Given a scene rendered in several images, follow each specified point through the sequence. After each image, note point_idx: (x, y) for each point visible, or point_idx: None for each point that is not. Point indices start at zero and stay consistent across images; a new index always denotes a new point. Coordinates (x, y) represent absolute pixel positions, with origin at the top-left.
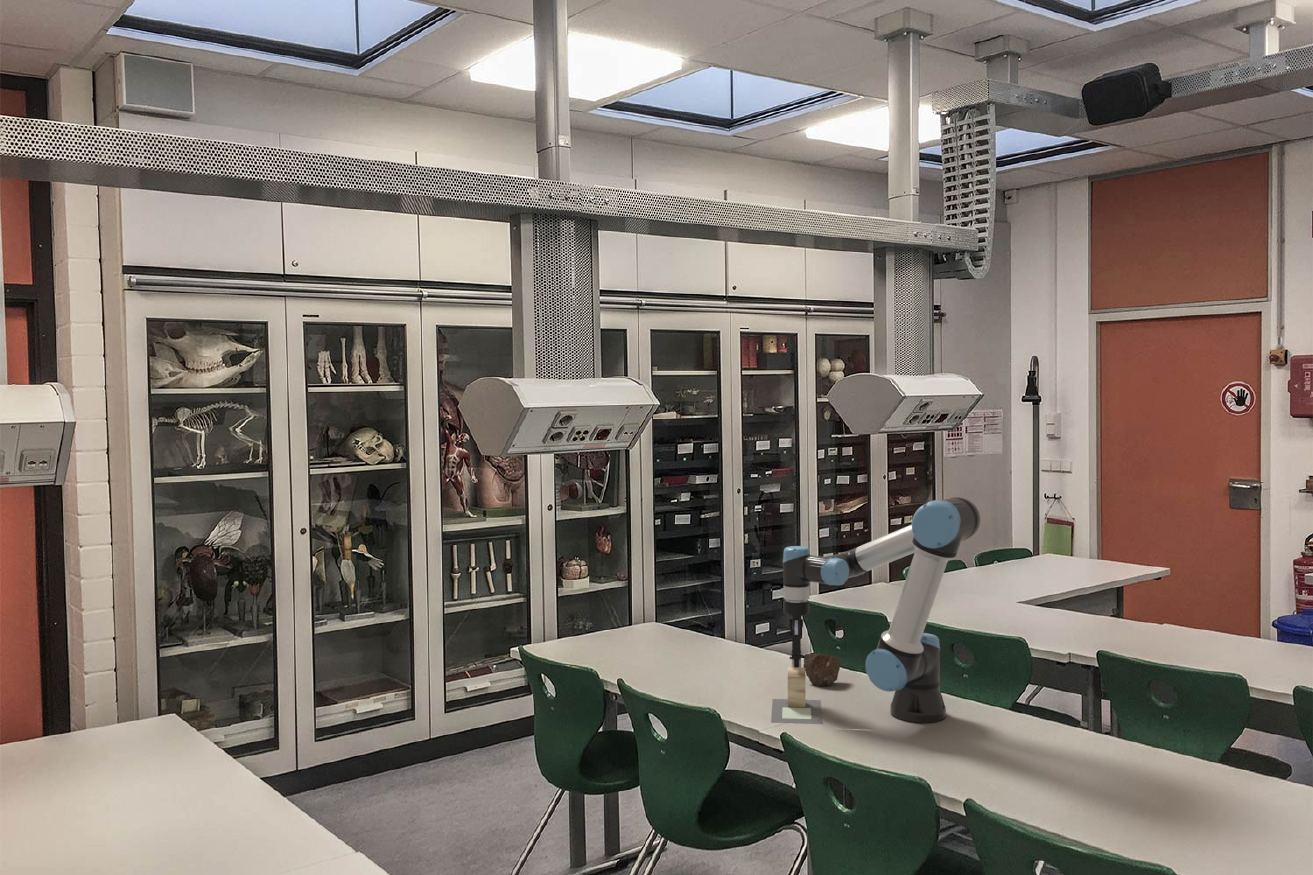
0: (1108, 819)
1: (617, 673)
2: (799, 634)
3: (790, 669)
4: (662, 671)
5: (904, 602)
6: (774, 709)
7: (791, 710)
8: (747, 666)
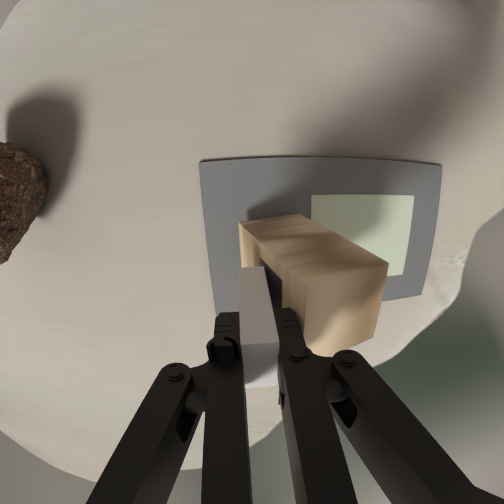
0: None
1: None
2: (481, 494)
3: (323, 348)
4: (108, 449)
5: None
6: None
7: None
8: (7, 353)
